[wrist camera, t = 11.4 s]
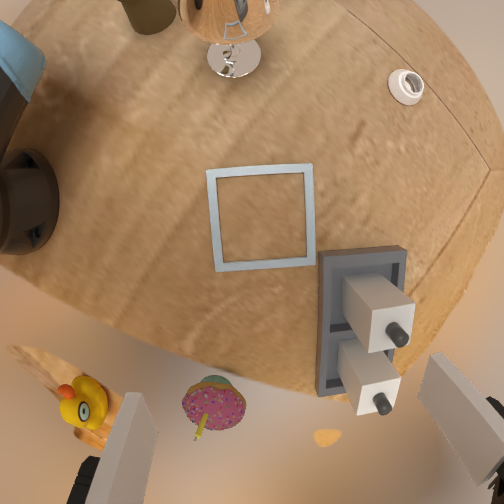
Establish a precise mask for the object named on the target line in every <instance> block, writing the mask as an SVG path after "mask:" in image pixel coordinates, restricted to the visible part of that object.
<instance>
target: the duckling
mask: <svg viewBox="0 0 504 504" xmlns="http://www.w3.org/2000/svg"><path fill="white" fill-rule="evenodd" d="M58 393H60V394H63V396H64V397H63V398H62V400H61V402H60V412H61V415H62V417H63V419H64V420H65V421H66V422H67V423H69V424H71V425H74V426H76V427H79V428H85V427H87V428H88V429H91V430H95V429H98V428H100V427H101V425H102V423H103V422H104V419H105V417H106V414H107V411H108V401H107V395H106V393H105V391H104V390H103V388H101V386H100V384H99V383H98V382H97V381H96V380H95V379H93V378H91V377H88V376H78V377H76V378H75V379H74V380H73V382H72V384H71V386H70V385H67V384H63V385H61V386H59V388H58Z"/></svg>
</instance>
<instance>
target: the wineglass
mask: <svg viewBox="0 0 504 504" xmlns="http://www.w3.org/2000/svg"><path fill="white" fill-rule="evenodd" d="M279 9H280V0H178V11H179V15H180V18H181V21H182V23H183V24H184V26H185V27H186V29H187V30H188V31H189V32H190V33H191V34H193V35H194V36H195V37H197V38H199V39H201V40H203V41H205V42H208V43H212V44H211V45H210V47H209V49H208V52H207V61H208V64H209V66H210V67H211V69H212V70H213V71H214V72H216V73H217V74H219V75H221V76H224V77H228V78H238V77H242V76H245V75H247V74H249V73H251V72H252V71H253V70H254V69H255V68H256V67H257V66H258V64H259V62H260V59H261V50H260V47H259V45H258V43H257V42H256V41H255V40H254V39H256V38H258V37H259V36H261V35H262V34H264V33H265V32H266V31H267V30H268V29H269V28H270V27H271V26H272V25H273V23H274V22H275V20H276V18H277V16H278V13H279Z"/></svg>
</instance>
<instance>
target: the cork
mask: <svg viewBox="0 0 504 504" xmlns="http://www.w3.org/2000/svg"><path fill="white" fill-rule="evenodd" d="M118 1H120V2H121V3H122V5H123V7H124V9H125V12H126V14H127V16H128V18H129V20H130V22H131V25H132V27H133V28H134V30H135V31H136V32H138V33H140V34H144V35H150V34H155V33H158V32H160V31H162V30H164V29H165V28H167V27H168V26H169V25H170V24H171V23H172V22H173V20H174V18H175V16H176V9H175V6H174V5H173V4H172V2H171V1H170V0H118Z"/></svg>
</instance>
